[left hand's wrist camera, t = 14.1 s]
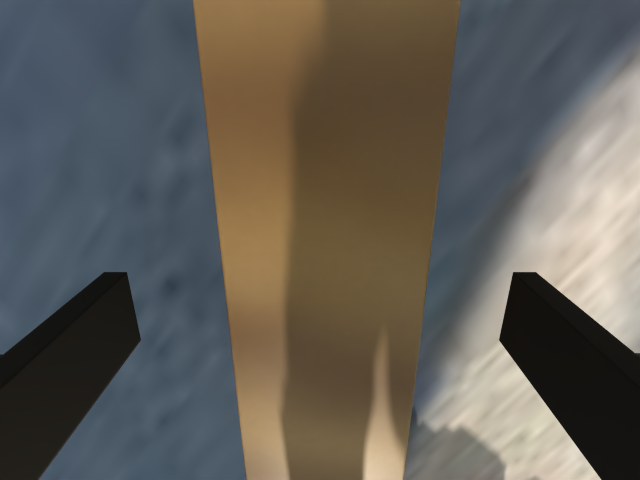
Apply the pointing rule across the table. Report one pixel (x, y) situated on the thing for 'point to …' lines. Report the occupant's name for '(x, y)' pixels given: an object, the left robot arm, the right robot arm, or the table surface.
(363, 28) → the beam
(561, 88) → the table surface
